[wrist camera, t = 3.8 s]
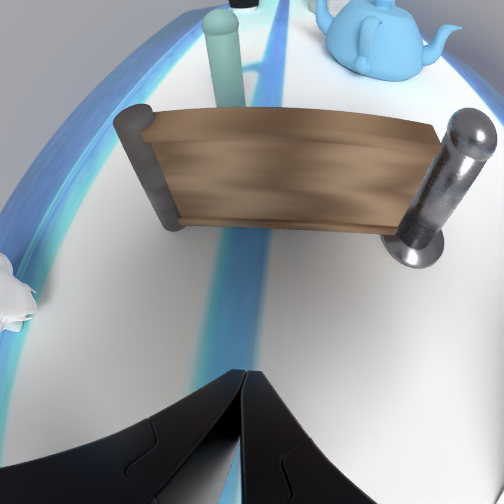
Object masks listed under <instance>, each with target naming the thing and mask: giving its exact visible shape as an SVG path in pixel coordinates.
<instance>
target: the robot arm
mask: <svg viewBox="0 0 504 504" xmlns="http://www.w3.org/2000/svg"><path fill="white" fill-rule="evenodd" d="M239 440H240V465H241V504H377V503H376V502H375V501H374V500H373V499H371V498H370V497H369V496H368V495H367V494H365V493H364V492H363V491H362V490H361V489H360V488H358V487H357V486H356V485H355V484H354V483H353V482H352V481H350V480H349V479H348V478H347V477H346V476H345V475H344V474H343V473H342V472H341V471H340V470H339V469H338V468H336V467H335V466H334V465H333V464H332V463H331V462H330V461H329V460H328V458H327V457H326V456H325V455H324V454H323V453H322V451H321V450H320V449H319V448H318V447H317V445H316V444H315V443H314V441H313V440H312V439H311V438H310V437H309V436H308V434H307V433H306V432H305V430H304V429H303V428H302V426H301V425H300V424H299V422H298V421H297V420H296V418H295V417H294V416H293V414H292V413H291V411H290V410H289V409H288V407H287V406H286V405H285V403H284V402H283V400H282V399H281V398H280V396H279V395H278V393H277V392H276V391H275V389H274V388H273V386H272V385H271V384H270V382H269V381H268V379H267V378H266V377H265V375H264V374H263V372H261V371H247V372H246V371H245V370H238V369H231V370H230V371H228V372H226V373H225V374H223V375H221V376H220V377H218V378H217V379H215V380H213V381H212V382H210V383H208V384H207V385H205V386H203V387H202V388H200V389H198V390H197V391H195V392H193V393H192V394H190V395H188V396H186V397H185V398H183V399H181V400H179V401H178V402H176V403H174V404H172V405H171V406H169V407H167V408H165V409H163V410H162V411H160V412H158V413H156V414H154V415H152V416H151V417H149V419H148V418H146V419H144V420H142V421H140V422H138V423H136V424H134V425H132V426H130V427H128V428H126V429H124V430H121V431H119V432H117V433H115V434H112V435H110V436H107V437H104V438H102V439H99V440H97V441H94V442H91V443H88V444H85V445H82V446H79V447H76V448H73V449H70V450H66V451H63V452H60V453H57V454H53V455H50V456H46V457H43V458H39V459H35V460H31V461H28V462H24V463H20V464H15V465H11V466H7V467H2V468H0V504H218V502H219V499H220V497H221V494H222V491H223V488H224V485H225V482H226V480H227V477H228V474H229V471H230V468H231V465H232V462H233V459H234V456H235V453H236V450H237V447H238V444H239Z"/></svg>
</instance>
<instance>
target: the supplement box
mask: <svg viewBox="0 0 504 504" xmlns="http://www.w3.org/2000/svg"><path fill="white" fill-rule="evenodd" d="M350 1H351V0H327V8H328V11H329V13H330V14H331V15H332V16H333V17H334V18H335V16H336V15H337V14H338V13H339V12H340V11H341V9H342V8H343V7H344V6H345V5H346V4H347V3H349V2H350ZM309 11H312V12H314V13H315V12H316V1H315V0H309Z"/></svg>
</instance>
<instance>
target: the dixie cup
mask: <svg viewBox="0 0 504 504" xmlns="http://www.w3.org/2000/svg"><path fill="white" fill-rule="evenodd" d="M229 4H230V7H231V8H232V11H233V12H236V13H247V12H253V11H256V10H257V6H258V4H259V0H229Z"/></svg>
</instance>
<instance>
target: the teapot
mask: <svg viewBox="0 0 504 504" xmlns="http://www.w3.org/2000/svg"><path fill="white" fill-rule="evenodd" d="M315 1H316V12H315V13H316V22H317V25H318V27H319V28H320V30H321V31H322V32H323V33H324V34H325V35H326V45H327V48H328V50H329V51H330V53H331V54H332V55H333V56H334V58H335V59H336V60H337V61H338V62H339V63H340V64H342V65H343V66H345V67H346V68H348V69H350V70H352V71H354V72H357V73H359V74H362V75H365V76H368V77H372V78H376V79H380V80H386V81H403V80H407V79H409V78H411V77H413V76H415V75H417V74H418V73H419V72H420V71H421V70H422V68H423V66H428V65H431V64H433V63H435V62H436V61H437V60H438V59H439V57H440V55H441V53H442V50H443V47H444V44H445V41H446V39H447V37H448V35H449V34H450V33H451V32H453V31H455V30H459V29H462V27H459V26H455V25H449V24H445V25H442V26H441V27H439V29H438V30H437V33H436V36H435V38H434V40H433V42H432V43H431V44H429V45H425V46H423V41H422V38H421V35H420V32H419V30H418V27H417V25H416V22H415V20H414V19H413V17H412V16H411V14H410V13H408V12H407V11H405V10H403V9H401V8H398V7H396V6H395V0H351V1H350V2H349V3H347V4H346V5H345V6H344V7H343V8H342V9H341V11H340V12H339V13H338V14H337V15H336V16H335V18H334V17H333V16H332V15H331V14H330V13H329V11H328V8H327V0H315Z"/></svg>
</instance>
